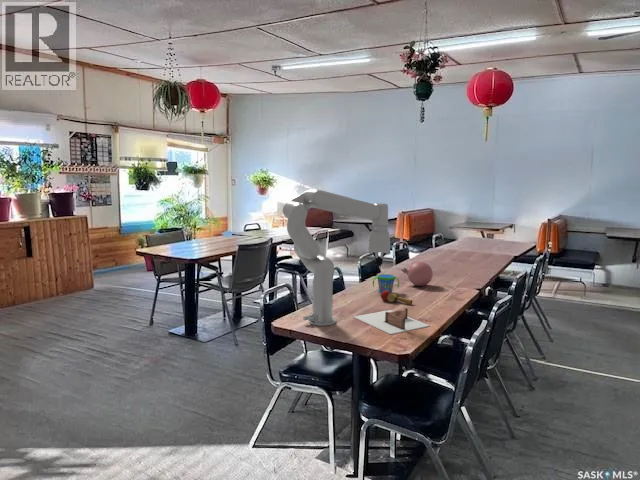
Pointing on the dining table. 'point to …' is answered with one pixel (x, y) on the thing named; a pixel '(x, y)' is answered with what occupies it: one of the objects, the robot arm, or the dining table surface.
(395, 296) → the kendama
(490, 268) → the dining table surface
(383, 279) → the snack cup
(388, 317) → the base
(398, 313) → the swing panel
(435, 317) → the dining table surface
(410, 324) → the card
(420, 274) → the balloon
